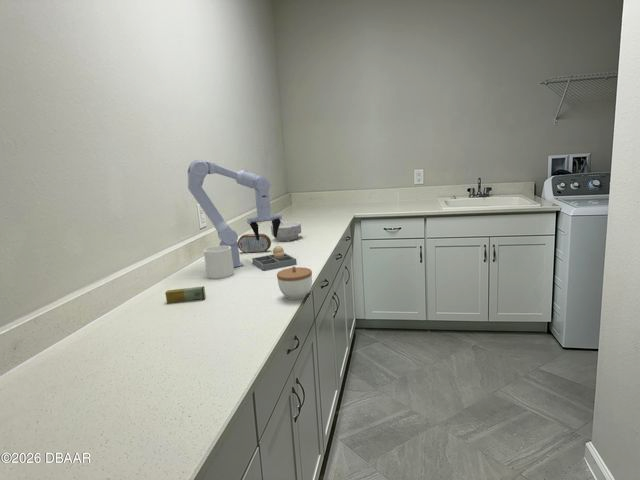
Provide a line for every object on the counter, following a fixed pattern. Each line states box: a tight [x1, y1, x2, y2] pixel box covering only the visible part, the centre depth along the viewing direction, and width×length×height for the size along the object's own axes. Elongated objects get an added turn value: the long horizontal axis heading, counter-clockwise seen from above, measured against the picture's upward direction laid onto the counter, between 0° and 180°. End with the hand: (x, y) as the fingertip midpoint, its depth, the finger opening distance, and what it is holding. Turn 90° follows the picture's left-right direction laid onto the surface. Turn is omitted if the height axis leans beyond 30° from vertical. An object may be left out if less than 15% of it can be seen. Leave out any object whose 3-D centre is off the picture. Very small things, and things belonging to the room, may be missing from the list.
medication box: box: [164, 286, 207, 305], centre depth 135 cm, size 12×3×4 cm, turn 95°
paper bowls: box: [270, 221, 302, 242], centre depth 217 cm, size 15×15×8 cm
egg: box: [272, 245, 285, 258], centre depth 175 cm, size 4×4×6 cm
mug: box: [203, 245, 235, 280], centre depth 162 cm, size 13×10×10 cm
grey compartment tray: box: [251, 252, 298, 272], centre depth 171 cm, size 14×14×2 cm
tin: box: [237, 233, 272, 254], centre depth 194 cm, size 15×3×8 cm, turn 84°
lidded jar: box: [276, 266, 313, 301], centre depth 131 cm, size 11×11×9 cm
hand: (266, 238), depth 178 cm, fingers open, 7 cm apart
